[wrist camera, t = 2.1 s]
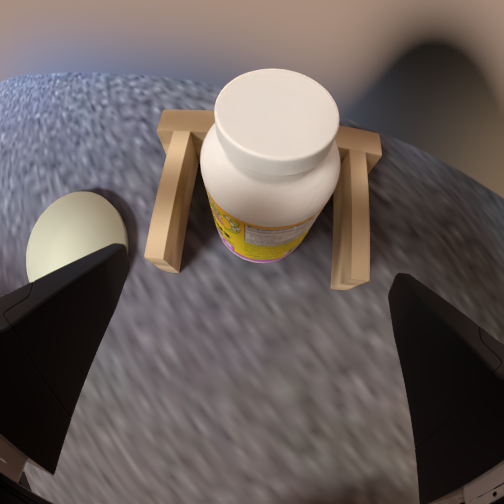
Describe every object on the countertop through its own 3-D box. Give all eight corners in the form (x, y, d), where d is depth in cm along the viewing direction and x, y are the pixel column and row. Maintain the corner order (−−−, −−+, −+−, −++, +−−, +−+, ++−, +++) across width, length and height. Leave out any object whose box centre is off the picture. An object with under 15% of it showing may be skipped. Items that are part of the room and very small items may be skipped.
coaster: (72, 339, 20) (66, 339, 19) (18, 255, 21) (11, 252, 20) (153, 248, 22) (149, 245, 21) (86, 175, 23) (81, 170, 22)
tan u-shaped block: (361, 291, 21) (388, 282, 17) (147, 268, 21) (124, 254, 17) (360, 162, 24) (379, 133, 20) (174, 142, 24) (163, 109, 20)
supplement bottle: (216, 183, 23) (193, 55, 11) (300, 181, 23) (343, 57, 11) (217, 268, 22) (182, 189, 9) (309, 263, 22) (383, 185, 9)
